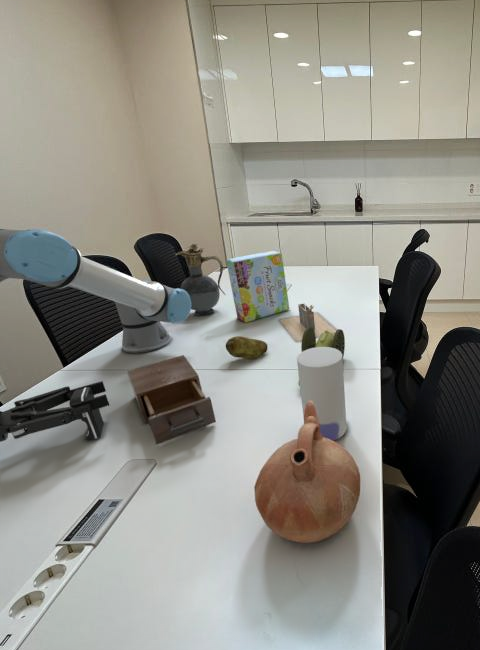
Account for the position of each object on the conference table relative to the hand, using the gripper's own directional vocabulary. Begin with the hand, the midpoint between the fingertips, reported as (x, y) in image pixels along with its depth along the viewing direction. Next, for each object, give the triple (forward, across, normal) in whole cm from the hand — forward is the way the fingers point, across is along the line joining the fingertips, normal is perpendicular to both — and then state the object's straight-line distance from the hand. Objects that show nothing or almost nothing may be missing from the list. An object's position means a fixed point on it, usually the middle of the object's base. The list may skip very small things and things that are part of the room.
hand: (105, 392), depth 93 cm
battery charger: (-5, 0, -10) cm, 11 cm away
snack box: (+61, -52, -10) cm, 81 cm away
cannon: (+54, +8, -10) cm, 55 cm away
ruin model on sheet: (+69, -27, -10) cm, 75 cm away
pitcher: (+43, -71, -10) cm, 84 cm away
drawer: (+13, +11, -9) cm, 19 cm away
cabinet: (+13, -4, -10) cm, 17 cm away
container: (+40, +35, -10) cm, 54 cm away
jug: (+25, +55, -10) cm, 61 cm away
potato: (+40, -15, -10) cm, 44 cm away
